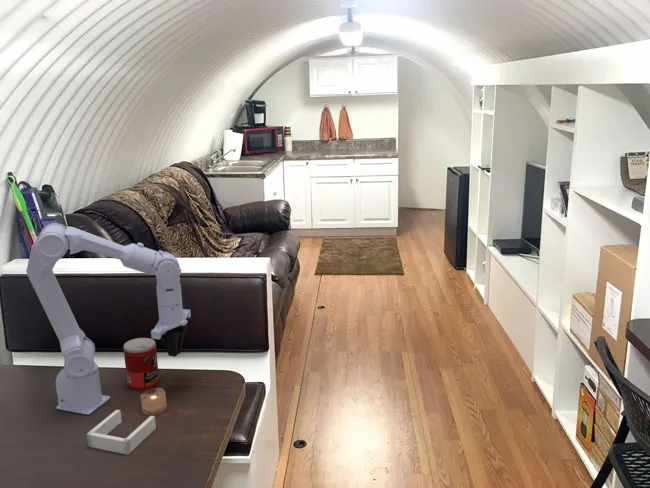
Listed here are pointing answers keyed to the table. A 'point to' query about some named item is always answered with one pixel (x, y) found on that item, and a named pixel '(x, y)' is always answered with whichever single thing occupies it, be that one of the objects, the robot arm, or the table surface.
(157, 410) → the tan short cylinder
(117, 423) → the u-shaped bracket
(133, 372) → the canned food
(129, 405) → the table surface
